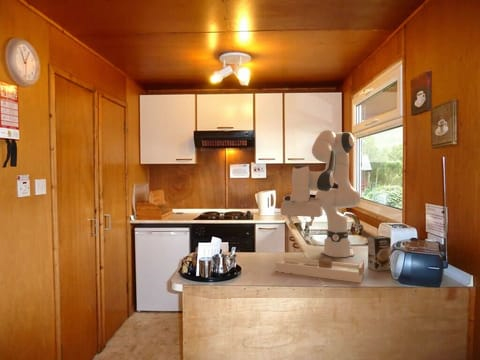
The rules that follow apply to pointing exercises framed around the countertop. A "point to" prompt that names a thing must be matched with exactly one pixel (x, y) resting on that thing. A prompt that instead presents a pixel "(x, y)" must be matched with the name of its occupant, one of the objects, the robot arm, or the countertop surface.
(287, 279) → the countertop surface
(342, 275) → the trap track
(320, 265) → the walnut block
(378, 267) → the coffee box
